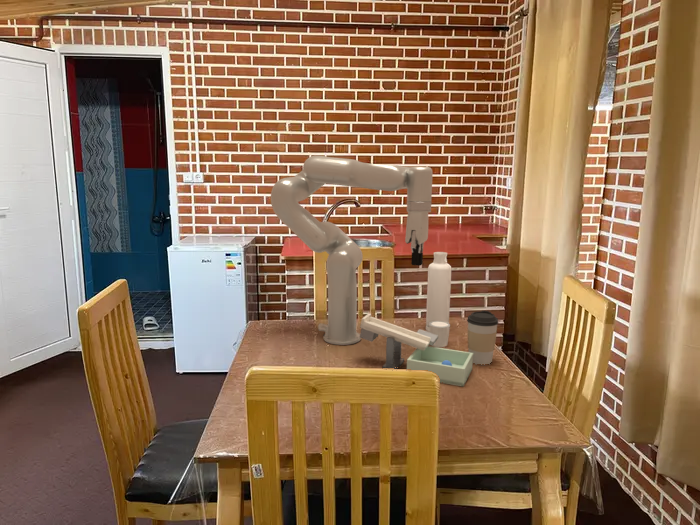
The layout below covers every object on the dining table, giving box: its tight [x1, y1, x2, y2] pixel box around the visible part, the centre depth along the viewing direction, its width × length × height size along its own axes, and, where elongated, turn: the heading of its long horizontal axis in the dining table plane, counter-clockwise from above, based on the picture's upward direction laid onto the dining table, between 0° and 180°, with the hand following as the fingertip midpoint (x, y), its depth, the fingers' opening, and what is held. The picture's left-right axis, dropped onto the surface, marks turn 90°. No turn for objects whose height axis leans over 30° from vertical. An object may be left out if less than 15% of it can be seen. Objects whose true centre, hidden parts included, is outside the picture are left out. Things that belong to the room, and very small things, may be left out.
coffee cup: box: [467, 310, 499, 366], centre depth 156 cm, size 9×9×15 cm
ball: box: [442, 360, 452, 366], centre depth 147 cm, size 3×3×3 cm
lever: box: [359, 313, 438, 351], centre depth 155 cm, size 21×12×6 cm, turn 67°
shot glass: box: [429, 321, 451, 348], centre depth 171 cm, size 7×7×7 cm
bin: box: [406, 345, 473, 387], centre depth 148 cm, size 16×13×5 cm
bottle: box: [425, 251, 452, 333], centre depth 183 cm, size 8×8×28 cm
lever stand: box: [382, 337, 405, 370], centre depth 153 cm, size 4×8×10 cm, turn 157°
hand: (416, 264), depth 164 cm, fingers closed
